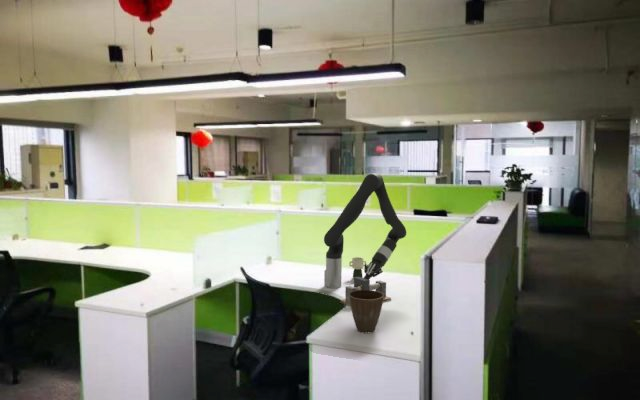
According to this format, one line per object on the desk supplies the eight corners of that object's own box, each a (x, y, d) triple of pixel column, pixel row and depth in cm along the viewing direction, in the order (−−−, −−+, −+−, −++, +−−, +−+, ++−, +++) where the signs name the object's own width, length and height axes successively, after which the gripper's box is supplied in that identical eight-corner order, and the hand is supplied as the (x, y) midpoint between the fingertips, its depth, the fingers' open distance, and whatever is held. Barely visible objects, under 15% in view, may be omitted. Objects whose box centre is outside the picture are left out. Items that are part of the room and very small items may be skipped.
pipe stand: (375, 295, 265) (376, 279, 264) (391, 300, 255) (391, 283, 255) (340, 302, 250) (340, 285, 250) (355, 307, 241) (355, 290, 240)
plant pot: (380, 338, 199) (380, 300, 198) (345, 334, 203) (345, 297, 202) (385, 326, 214) (385, 291, 212) (352, 323, 218) (353, 288, 216)
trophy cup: (364, 277, 307) (364, 257, 306) (367, 279, 300) (367, 259, 299) (348, 277, 305) (348, 257, 304) (350, 280, 298) (350, 259, 297)
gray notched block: (358, 293, 255) (358, 276, 255) (369, 296, 248) (369, 280, 247) (353, 293, 254) (354, 277, 253) (364, 297, 246) (365, 280, 246)
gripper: (370, 249, 261) (352, 274, 255) (387, 253, 251) (369, 279, 244) (377, 258, 265) (360, 283, 259) (394, 262, 254) (376, 288, 248)
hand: (364, 281), depth 251 cm, fingers closed
